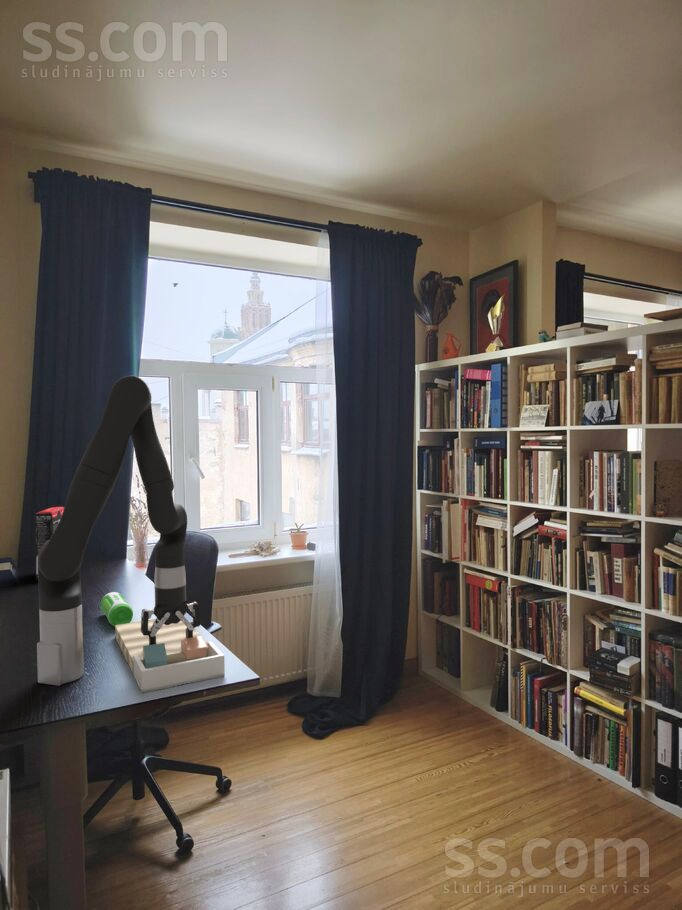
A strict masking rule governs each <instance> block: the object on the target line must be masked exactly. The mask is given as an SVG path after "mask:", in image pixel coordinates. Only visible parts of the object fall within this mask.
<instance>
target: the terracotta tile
mask: <svg viewBox="0 0 682 910" xmlns="http://www.w3.org/2000/svg"><path fill="white" fill-rule="evenodd" d="M201 636H202V635H201ZM201 636H197V637H192V638H186V639H181V650H182V652H183V654H184V656H185V658H186V659H191V658H196V657H200V656H205V655H206V653H207V646H206V644H205V642H204V641H203V639H202V637H203V636H202V637H201Z"/></svg>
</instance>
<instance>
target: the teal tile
mask: <svg viewBox="0 0 682 910" xmlns="http://www.w3.org/2000/svg"><path fill="white" fill-rule="evenodd" d="M142 654H143V661H144V667H145V669H148V668H153V667H158V666H163V665H167V654H166V649H165V644H164V643H161V644H154V645H146V646H143V651H142Z"/></svg>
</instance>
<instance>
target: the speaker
mask: <svg viewBox="0 0 682 910" xmlns="http://www.w3.org/2000/svg"><path fill="white" fill-rule="evenodd" d="M100 609H101V611H102V612H103V613H104V615H105V616H106V618H107V620H108V623H109V624H110V625H111V626H113V627H115V625H120V624H126V623H132V620H133V617H134V610H133V608H132V606H131V605H130V604H129V603H128V602H127V600H126V599H125V597H124V596H123V594H121V593H120V592H115V591H111V592H108V593H107V594H105V595H103V597H102V599H101V601H100Z"/></svg>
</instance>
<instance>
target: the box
mask: <svg viewBox="0 0 682 910" xmlns="http://www.w3.org/2000/svg"><path fill="white" fill-rule="evenodd" d="M206 642H207V654H208V657H205V658H200V659H195V660H189V661H184V662H179V663H174V664H169V665H163V666H158V667H153V668H148V669H145V667H144V665H143V663H142V661H141V660H140V658H139V656H138V654H137V655H133V662H134V675H133V677H134V679H135V680H136V682H137V683H136V684H137V685H138V687H139V690H140V691H141V694H146V693H151V692H155V691H159V690H165V689H169V688H168V687H170V688H174V687H173V686H175V687H178V686H177V685H179V686H182V685H181V684H184V685H186V684H185V683H189V684H191V683H190V682H194V683H197V682H203V681H208V680H212V679H217V678H222V677H225V676H226V675H225V672H226V671H225V670H226V669H225V654H223V652H222V651H221V650H220V649H219V648H218V647H217V645H215V644H214V642H212V641H211V640H209V641H206Z"/></svg>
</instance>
